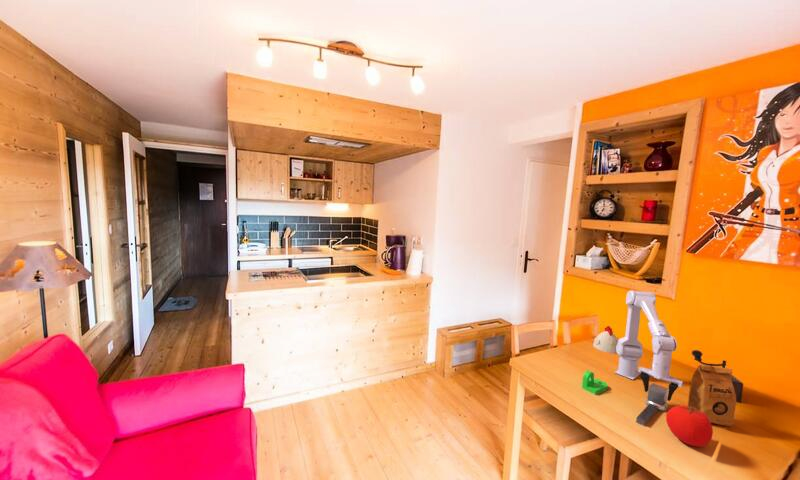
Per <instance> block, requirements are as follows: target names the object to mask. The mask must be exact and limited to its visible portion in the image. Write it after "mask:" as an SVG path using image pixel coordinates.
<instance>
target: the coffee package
mask: <svg viewBox="0 0 800 480" xmlns="http://www.w3.org/2000/svg"><path fill="white" fill-rule="evenodd" d="M730 374H732V375H733V369H732V368H726V367H725V368H722V366H709V365H704V364H699V365H698V366H697V367H696V369H695V371H694V372H693V374H692V378H691V382H690V387H689V393H688V402H687V406H688V405H689V406H690V407H693V408H695V409H697V410H699V411H701V412H703V413H704V414H705V415H706V416H707V417H708V419H709V421H710V423H711V424H716V425H719V426H726V427H732V426H734V423H735V413H736V407H737V402H736V394H735V390H734V386H733V384H732V379H731V376H730Z"/></svg>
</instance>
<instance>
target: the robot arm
mask: <svg viewBox="0 0 800 480" xmlns="http://www.w3.org/2000/svg"><path fill="white" fill-rule="evenodd" d="M656 303H657V297H656V295H655V293H654V292H653V291H639V290H633V289H632V290H629V291H628V292H627V293H626V297H625V305H626V306H628V307H627V317H626V324H625V325H626V326H625V335H624V337H621V338H619V339H618V343H617V345H616V351H617V355H618V356H619V359H618V369H617V370H616V371H614V374H616V375H619V376H623V377H625V378H628V379H631V380H635V379H636V378H637V377H638V376H639V377H640V379H641V381H642V384H643V388H644V392H645V393H648V390H649V386H650V380H651V379H650V378H651V377H653V378H655V379H656V380H661V381H665V382H666V383H669V385H668V393H667V401H669V402H670V401H671V399H672V397H673V395H674V393H675V391H676V390H677V389H678V388H682V387H683V386H684V381H683V380H680V379H677V378H675V377H674V376H671V375H670V373H671V372H670V371H671V365H672V354H673V352H675V351H676V350H677V349H678V348H677V347H678V343H677V339H676V338H675V337H674V336H672V335H671V334H669V331H668V329H667V328H666V325H665V323H664V321H663V320H661V319H660V318H659V316H658V312H657V309H656V307H655V306H656ZM641 310H642V311H643V312H644V314H645V316H646V319H648V321H649V322H648V323H647V326H648V329H649V332H650V334H651V337H652V339H651V346H652V352H653V356H652V363H651V366H652V367H651V369H649V368H646V367H642V366H639V361H640V359H641V358H642V357H643V355H644V349H643V343H642V342H641V341H640V340H638V338H639V328H640V322H641V321H640V319H641V312H642V311H641Z"/></svg>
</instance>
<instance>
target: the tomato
mask: <svg viewBox="0 0 800 480" xmlns="http://www.w3.org/2000/svg"><path fill="white" fill-rule="evenodd" d="M666 412H667V413H666V415H665V418H666V419H665V421H666V423H667V426H668V428H669V430H670V432H671V433H672V434H673V435H674V436H675V437H676V438H677V439H678V440H680V441H682V442H683V443H684V444H687V445H690V446H692V447H697V448H699V447H704V446H707V445H708V444H709V443H710V442H711V441H712V439H713V434H714V430H713V426H712V423H710V421H709V419H708V417H707V416H706V415H705V414H704V413H703V412H701V411H699V410H697V409H695V408H693V407H690V406H689V405H688V404H687V405H685V404H684V405H676V406H674V407H671V408H670V409H669V410H667V411H666Z"/></svg>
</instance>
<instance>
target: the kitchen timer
mask: <svg viewBox="0 0 800 480" xmlns="http://www.w3.org/2000/svg"><path fill="white" fill-rule="evenodd" d="M618 340H619V339H618V338H617V336H616V335H615V334H614V331H613V328H611V326H609V325H607V326H605V327H604V331H602V332H600V333H598V335H597V336H596V337H594V340H593V344H592V346H593V347H594V349H596V350H599V351H601V352H604V353H608V354H614V355H615V354H616V355H618V353H617V351H616V345H617V343H618Z"/></svg>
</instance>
